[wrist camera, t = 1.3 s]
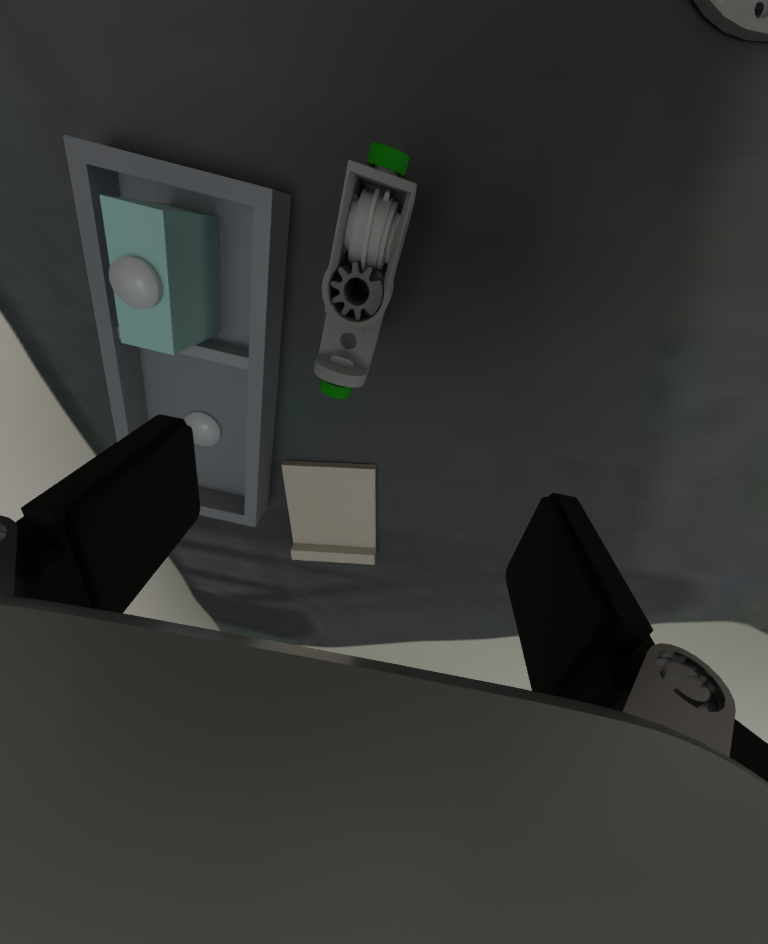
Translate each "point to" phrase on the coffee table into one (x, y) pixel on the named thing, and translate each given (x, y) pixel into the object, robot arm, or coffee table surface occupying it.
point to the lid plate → (331, 511)
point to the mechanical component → (363, 266)
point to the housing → (188, 309)
